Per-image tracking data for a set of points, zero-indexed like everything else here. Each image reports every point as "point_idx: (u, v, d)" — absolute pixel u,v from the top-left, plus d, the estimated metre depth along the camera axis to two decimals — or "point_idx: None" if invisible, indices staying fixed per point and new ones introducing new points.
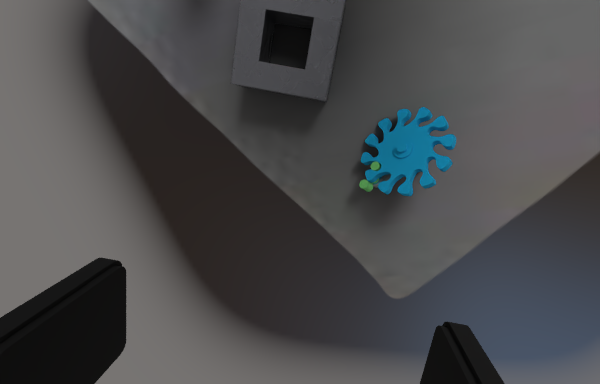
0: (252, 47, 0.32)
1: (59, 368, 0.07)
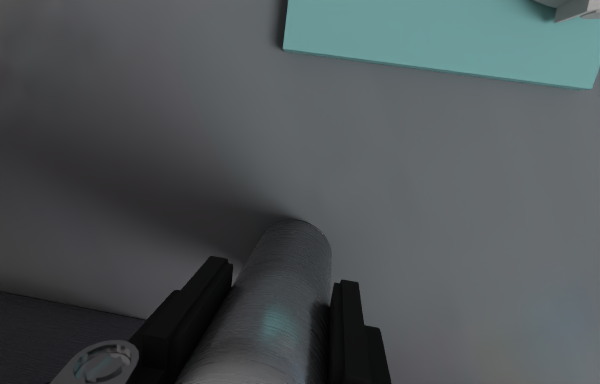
0: None
1: None
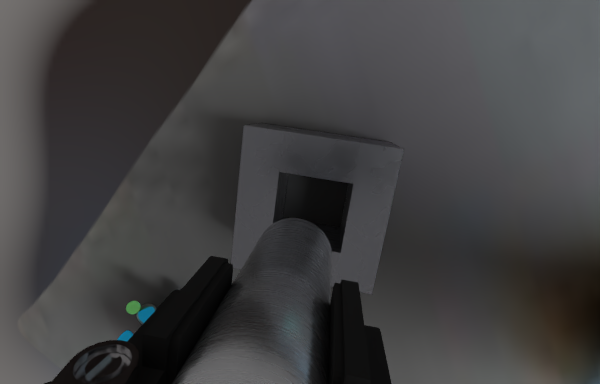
0: (298, 162, 0.20)
1: None
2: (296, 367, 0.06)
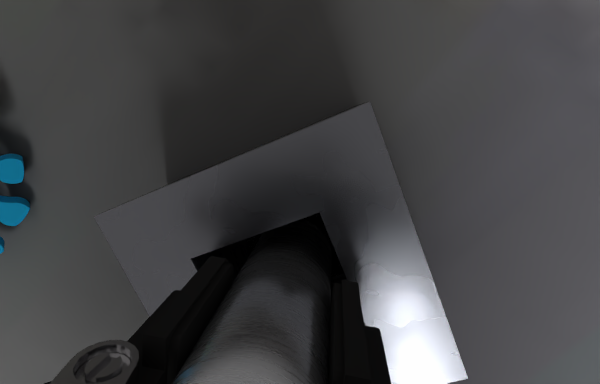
0: (356, 236, 0.10)
1: None
2: (296, 366, 0.06)
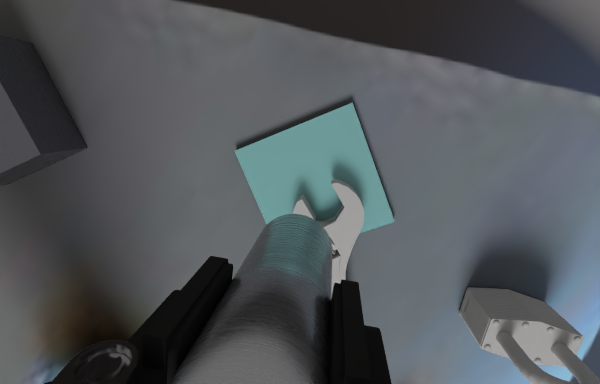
0: None
1: None
2: (297, 361, 0.06)
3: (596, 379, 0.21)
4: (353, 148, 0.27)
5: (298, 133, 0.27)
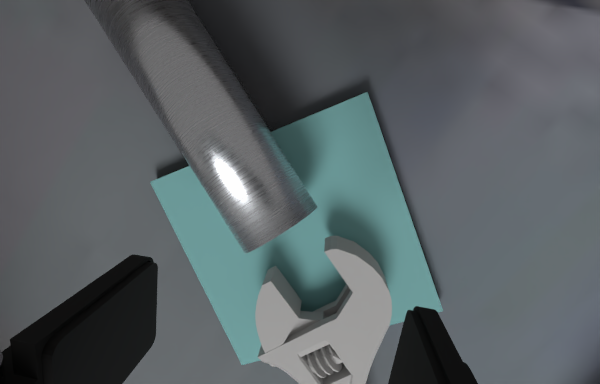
0: None
1: (103, 358, 0.08)
2: (210, 38, 0.13)
3: None
4: (368, 179, 0.14)
5: None
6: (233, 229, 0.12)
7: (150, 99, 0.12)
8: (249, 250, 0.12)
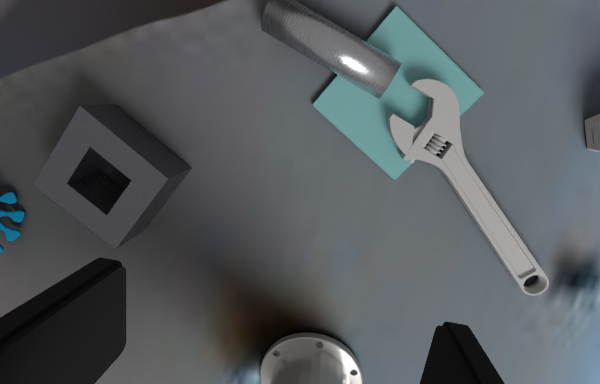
0: (104, 148, 0.29)
1: (59, 368, 0.07)
2: None
3: None
4: (415, 46, 0.28)
5: None
6: (374, 85, 0.27)
7: (315, 52, 0.27)
8: (385, 89, 0.26)
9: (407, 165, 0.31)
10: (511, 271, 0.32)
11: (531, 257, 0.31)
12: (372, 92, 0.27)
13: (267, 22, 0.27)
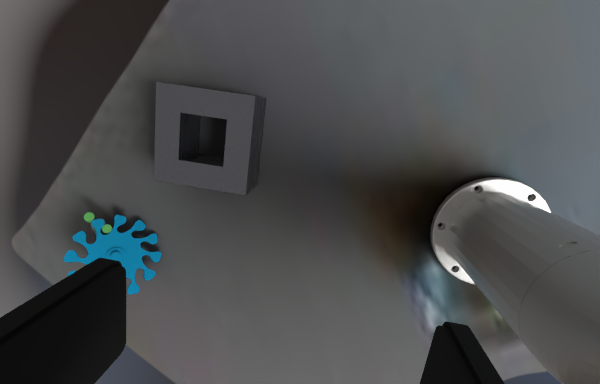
0: (192, 105, 0.31)
1: (59, 368, 0.07)
2: None
3: None
4: None
5: None
6: None
7: None
8: None
9: None
10: None
11: None
12: None
13: None
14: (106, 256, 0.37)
